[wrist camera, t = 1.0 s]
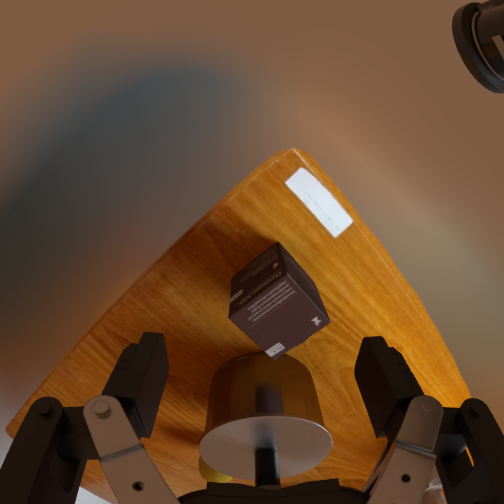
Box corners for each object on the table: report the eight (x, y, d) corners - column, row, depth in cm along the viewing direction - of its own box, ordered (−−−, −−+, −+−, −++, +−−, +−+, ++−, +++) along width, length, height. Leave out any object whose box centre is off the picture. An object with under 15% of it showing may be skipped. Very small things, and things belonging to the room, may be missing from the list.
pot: (208, 350, 33) (198, 413, 24) (320, 350, 33) (338, 411, 25) (214, 418, 38) (208, 474, 29) (305, 418, 38) (315, 472, 29)
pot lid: (193, 404, 25) (185, 454, 19) (343, 402, 25) (357, 449, 20) (205, 471, 29) (202, 509, 24) (317, 470, 30) (324, 506, 25)
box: (279, 239, 29) (288, 271, 22) (315, 282, 30) (333, 322, 24) (230, 277, 30) (225, 317, 23) (268, 316, 32) (273, 362, 25)
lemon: (211, 429, 39) (207, 473, 31) (244, 440, 40) (243, 483, 32) (195, 444, 40) (190, 485, 33) (226, 454, 41) (224, 494, 34)
